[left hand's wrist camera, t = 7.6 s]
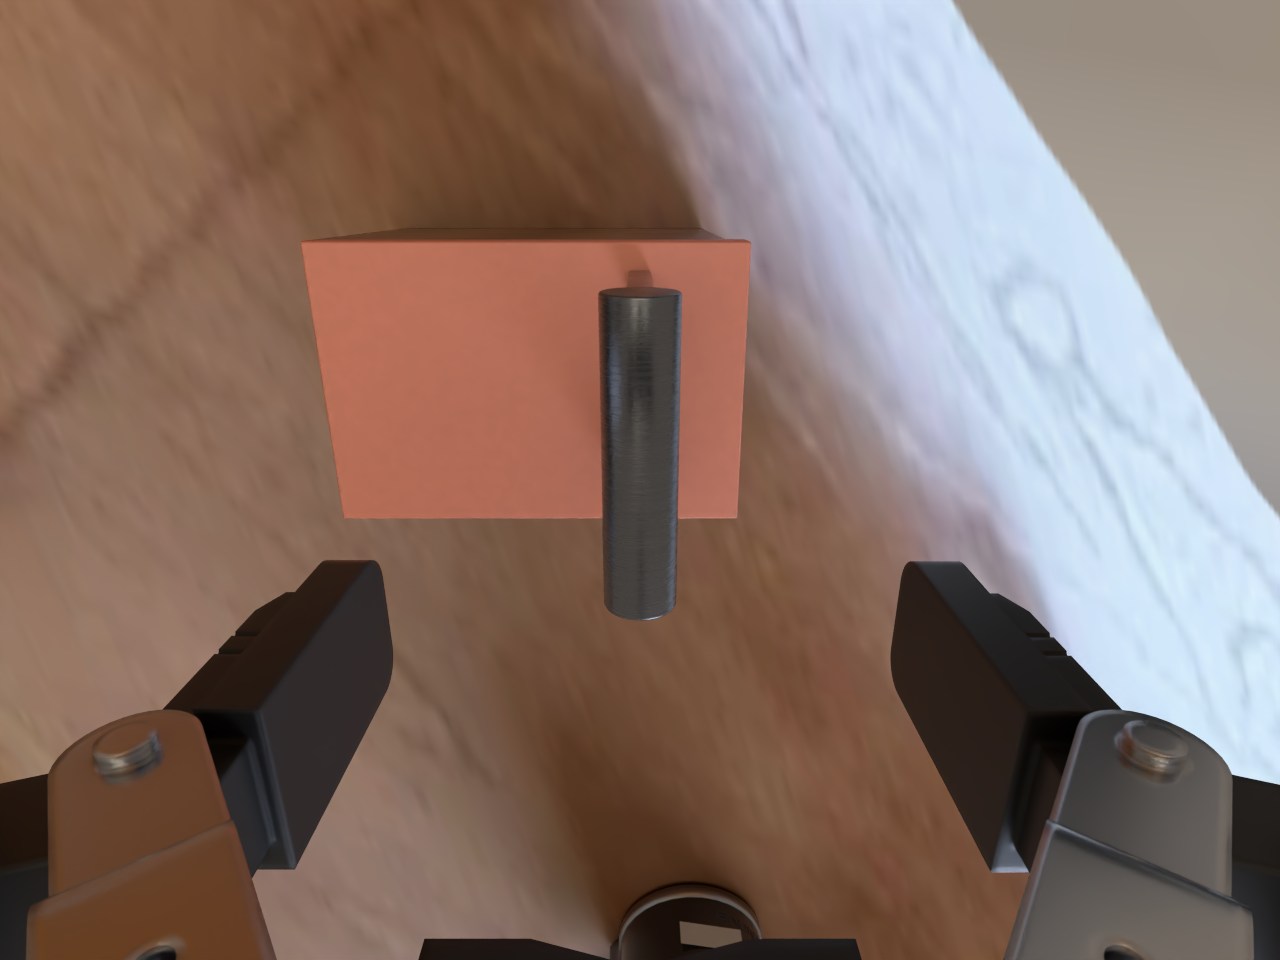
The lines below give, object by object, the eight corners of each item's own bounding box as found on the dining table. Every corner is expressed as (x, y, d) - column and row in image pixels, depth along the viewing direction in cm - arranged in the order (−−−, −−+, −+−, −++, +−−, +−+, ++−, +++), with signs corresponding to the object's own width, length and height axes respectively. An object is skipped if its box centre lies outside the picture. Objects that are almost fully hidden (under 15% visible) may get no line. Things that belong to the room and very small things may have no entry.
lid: (746, 239, 24) (806, 261, 15) (733, 506, 27) (776, 645, 19) (315, 239, 24) (134, 261, 15) (354, 506, 27) (225, 645, 19)
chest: (702, 228, 33) (727, 239, 24) (697, 428, 37) (716, 505, 27) (405, 228, 33) (315, 239, 24) (426, 428, 37) (355, 505, 27)
